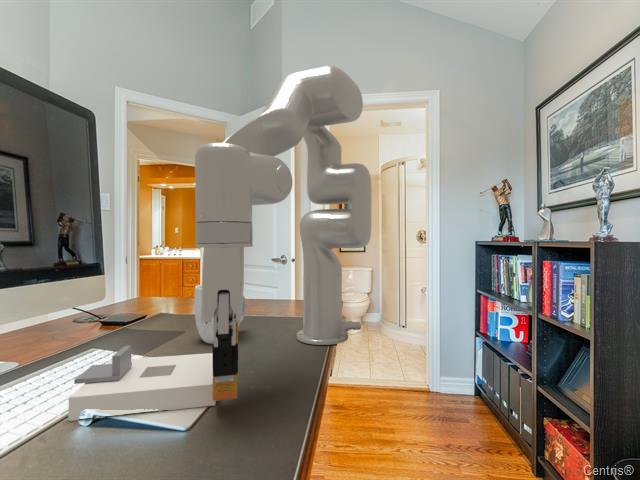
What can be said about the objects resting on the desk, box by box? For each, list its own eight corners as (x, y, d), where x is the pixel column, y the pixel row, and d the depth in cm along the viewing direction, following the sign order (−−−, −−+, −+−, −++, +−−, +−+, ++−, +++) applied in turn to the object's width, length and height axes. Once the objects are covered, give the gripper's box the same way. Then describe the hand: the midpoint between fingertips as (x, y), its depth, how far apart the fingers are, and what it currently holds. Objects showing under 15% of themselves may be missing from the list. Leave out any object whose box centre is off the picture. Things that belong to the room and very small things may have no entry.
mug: (228, 328, 88) (228, 280, 89) (261, 333, 83) (261, 282, 84) (183, 343, 75) (184, 286, 75) (219, 350, 70) (219, 289, 70)
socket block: (221, 368, 59) (221, 352, 59) (215, 405, 46) (215, 384, 46) (111, 377, 55) (111, 360, 55) (68, 421, 41) (68, 397, 41)
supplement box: (239, 398, 43) (238, 323, 44) (212, 402, 43) (211, 325, 43) (239, 388, 47) (238, 318, 47) (214, 391, 46) (213, 320, 46)
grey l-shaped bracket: (131, 366, 52) (132, 344, 52) (119, 380, 47) (119, 356, 47) (92, 369, 51) (92, 347, 51) (74, 383, 45) (74, 359, 45)
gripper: (202, 236, 52) (204, 351, 52) (186, 236, 36) (188, 401, 36) (250, 236, 54) (251, 346, 54) (255, 236, 37) (256, 393, 38)
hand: (226, 367), depth 45 cm, fingers closed on supplement box, 3 cm apart
